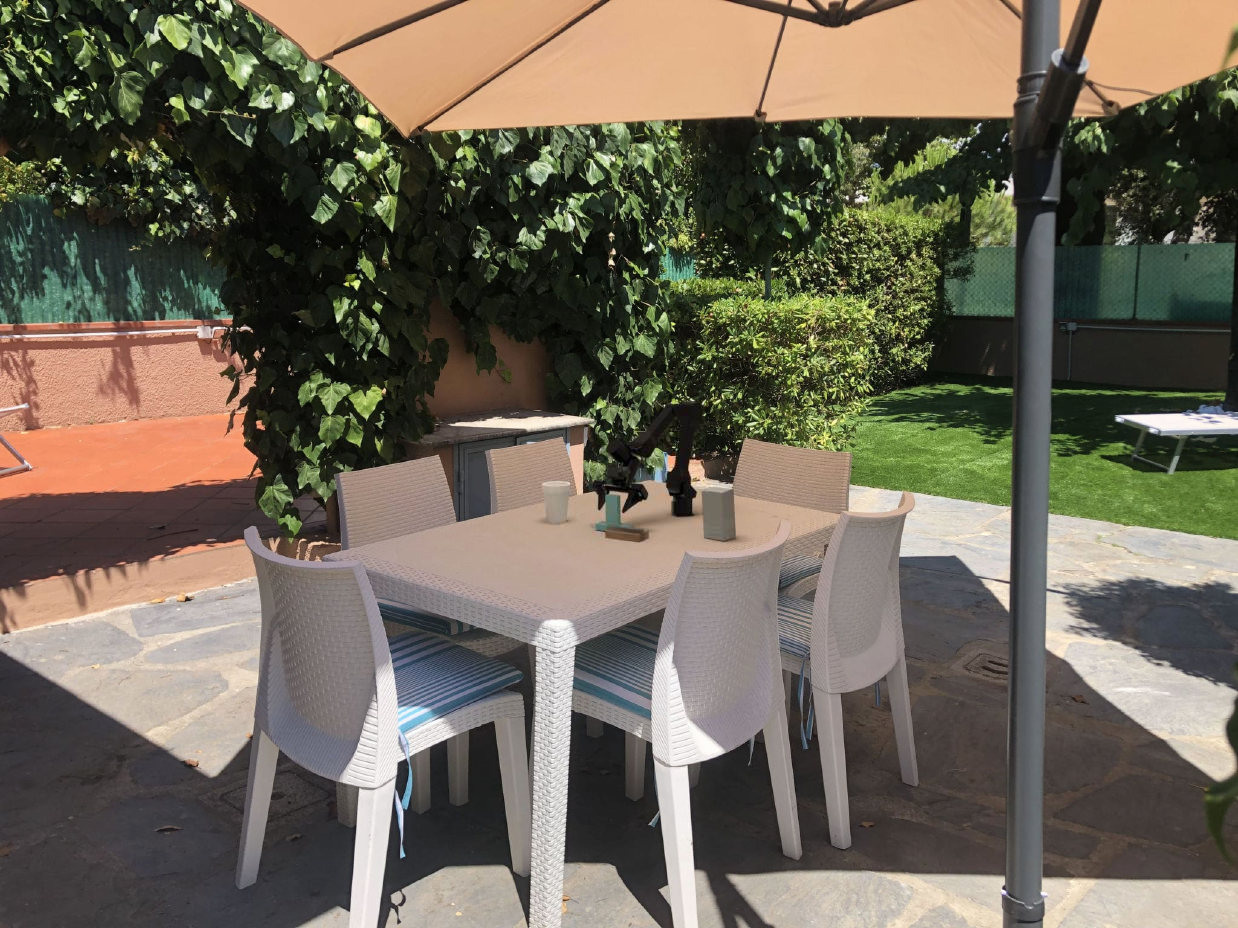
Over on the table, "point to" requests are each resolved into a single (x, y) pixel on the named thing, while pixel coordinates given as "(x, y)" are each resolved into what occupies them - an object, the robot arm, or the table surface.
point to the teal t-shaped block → (612, 513)
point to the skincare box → (718, 513)
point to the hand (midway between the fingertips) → (610, 511)
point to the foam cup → (556, 500)
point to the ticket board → (626, 533)
